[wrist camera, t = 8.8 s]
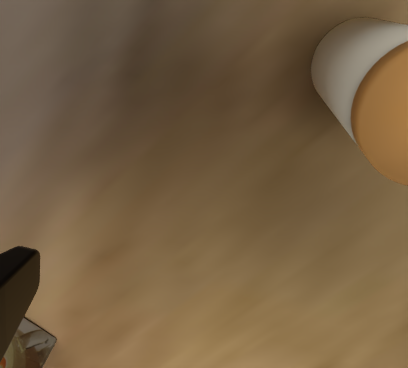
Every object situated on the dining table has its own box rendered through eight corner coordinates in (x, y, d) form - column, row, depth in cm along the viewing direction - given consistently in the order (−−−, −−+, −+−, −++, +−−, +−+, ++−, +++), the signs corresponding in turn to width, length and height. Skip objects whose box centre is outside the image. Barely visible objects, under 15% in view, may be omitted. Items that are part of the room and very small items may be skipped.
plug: (419, 30, 16) (563, 59, 9) (379, 117, 18) (471, 201, 11) (330, 6, 16) (401, 18, 9) (298, 97, 18) (336, 168, 11)
